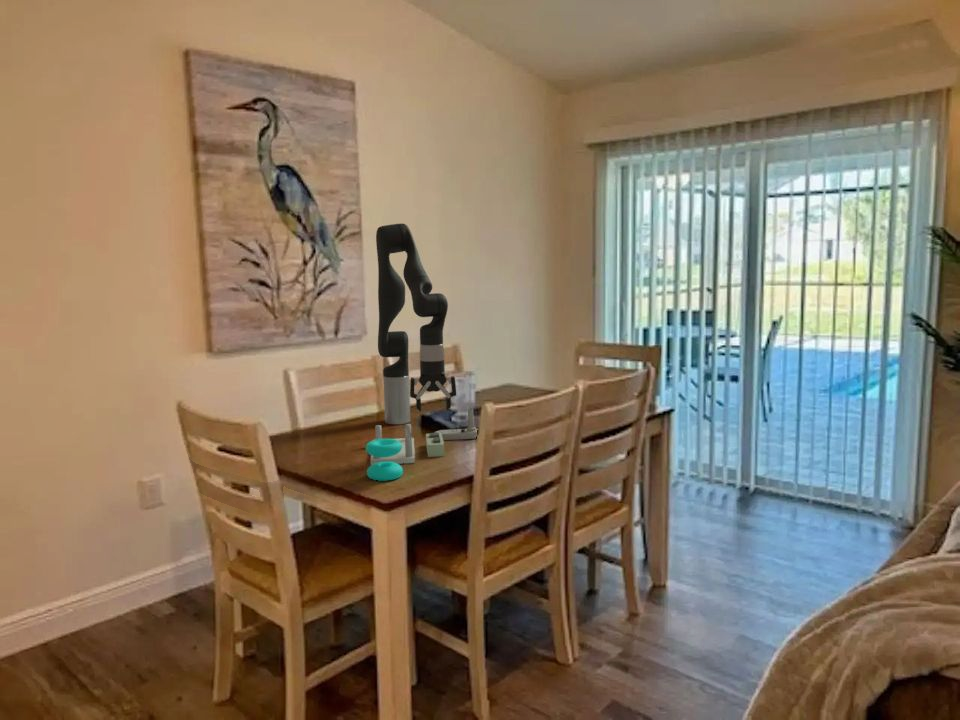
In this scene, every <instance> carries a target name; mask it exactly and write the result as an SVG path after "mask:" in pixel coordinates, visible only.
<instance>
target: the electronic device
mask: <svg viewBox="0 0 960 720" xmlns="http://www.w3.org/2000/svg"><path fill="white" fill-rule="evenodd" d="M467 416H468V417H467V424H468V425H467V426H468V427H466V428H457V429H455V428H454V429H440V430H437V431H434V433H442V437H443V441H455V440H458V441H459V440H473V439H477V438H476V436H477V430H478V429H479V428H477V427H476V426H475V418H474V417H475V416H474V408H468V409H467Z"/></svg>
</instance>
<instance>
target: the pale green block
mask: <svg viewBox="0 0 960 720" xmlns="http://www.w3.org/2000/svg"><path fill="white" fill-rule="evenodd" d="M425 445H426V452H427V458H431V457H432V458H436V457H437V458H438V457H445V443H444V440H443V437H442V433H435V432H428V433H425Z"/></svg>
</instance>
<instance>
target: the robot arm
mask: <svg viewBox="0 0 960 720" xmlns="http://www.w3.org/2000/svg"><path fill="white" fill-rule="evenodd" d="M375 235H376V236H375V237H376V238H375V243H376V254H377V265H378V266H377V267H378V272H377V273H378V275H377V276H378V277H377V278H378V281H377V283H378V285H377V286H378V287H377V289H378V290H377V292H378V293H377V295H378V296H377V297H378V298H377V300H378V301H377V302H378V329H377V330H378V332H377V333H378V334H377V351H378V354H379V356H380V357H382V358H398V359H397V361H395V362H394V363H393V364H392V363H391V364H390V365H388V366H385V367H384V368H382V369H383V370H382V376H383V381H382V382H383V401H384V402H383V403H384V423H385V424H388V425H405V424H409V423H411V403H410V402H411V399H410V398H412V399H415V401H416V402H415V404H416V405H415V406H416V410H418V412H422V399H421V397H422V396H423V395H424V394H425V392H428V393H429V392H440V391H441V392H442V393H443V395H444V397H445V406H446V407H445V409H446V411H449V409H451V407H452V401H451V400H452V397H456V396H457V386H456V385H457V384H456V377H455V376H454V375H451V376H447V377H446V373H445V371H446V369H445V367H446V366H445V349H444V333H443V331H444V328H445V327H444V326H445V322H446V317H447V312H448V309H449V308H448V307H449V303H448V299H447V297H446V296H445V295H444V294H443V293H440V292H439V293H435V292H434V293H431V292H432V290H433V283H432V281H431V280H430V278H429V276H428V274H427V272H426V270H425V268H424V266H423V264H422V261H421V258H420V255H419V251H418V249H417V246H416V243H415V239H414V237H413V234H412V232H411V229H410V228H409V226H408V225H407V224H405V223H393V224H386V225H380V226H379V227H378V228H377V230H376V233H375ZM402 252H403V253H404V252H405V254H406V260H405V263H404V267H403V272H402V273H403V278H404V280H403V279H402V277H401V276H400V275H399V273H398V272H397V271H396V269H395V268H394V267H393V266H392V264H391V260H390V255H391V254H396V253H402ZM405 283H406V285H407V287H408V289H409V291H410V294H411V300H412V309H413V312H414V314H416V315H417V316H418V317H419V318H430V317H431V321H430V322H429V323H427V324H423V325H422V326H421V327H420V328H419V344H420V345H419V368H420V369H419V372H420V373H419V374H420V376H419V378H418V377H410V375H409V373H410V372H409V336H408V333H407V332H406V331H402V330H401V331H399V330H398V331H394V330H393V331H389V330H390V327H391V325H392V324H393V322H394V320H395V319H396V317H398V315H399V314H400V313H401V311H402V310H403V308H404V306H405V303H406V286H405ZM446 382H448V384H449V385H450V386H451V392H449V391H448V389H446V387H445V386H444V385H445V384H446ZM418 383H419V384H420V386H421V388H420V389H419V391H418V392H417V393H415V386H417V385H418Z"/></svg>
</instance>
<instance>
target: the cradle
mask: <svg viewBox="0 0 960 720" xmlns="http://www.w3.org/2000/svg"><path fill="white" fill-rule="evenodd" d="M374 426H375V427H374V430H375V431H374V432H375V433H374V434H375V439H374V440H377V439H383V434H382V433H383V432H382V431H383V430H382V425H380V424H377V425H374ZM404 435H405V436H404V437H402V438H401V437H400V438H394V439H395V440H398V441H400V442H401V444H402V449H401V451H400V452H399V453H398V454H396V455H394V456H390V457H375V456H372V455H370V466H371V465H373V464H375V463H378V462H395V463H397V464H399V465H400V464H403V463H404V464H415V463H416V454H415V452H416V451H415V438H414V437H412V424H411V423H405V424H404Z"/></svg>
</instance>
